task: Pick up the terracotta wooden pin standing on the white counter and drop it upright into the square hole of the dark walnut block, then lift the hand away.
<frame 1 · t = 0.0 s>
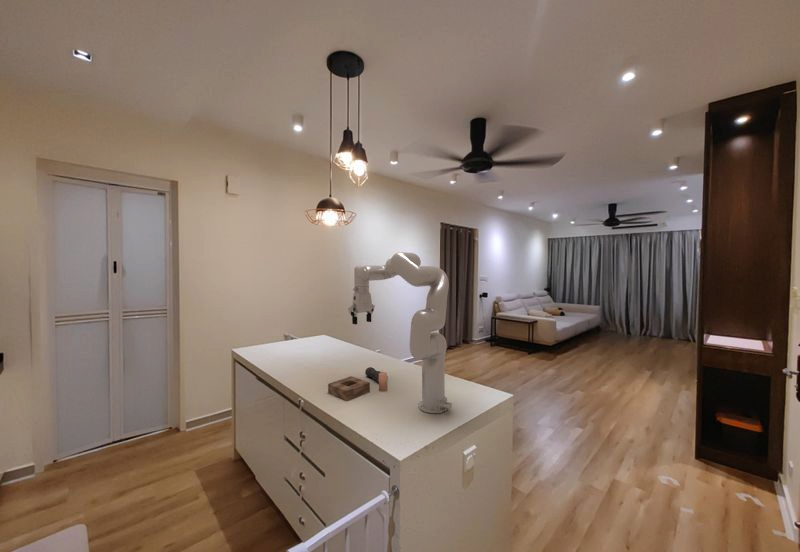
hand: (362, 322, 162), 31 cm above the countertop, fingers open, 9 cm apart
pin: (383, 389, 152), on the countertop
flashlight: (376, 380, 167), on the countertop
walnut block: (349, 392, 149), on the countertop
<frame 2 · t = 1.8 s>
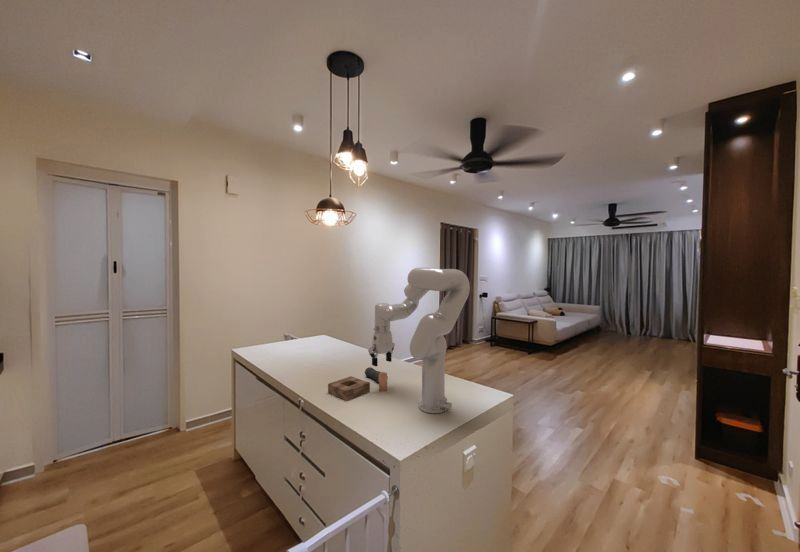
hand: (381, 363, 152), 13 cm above the countertop, fingers open, 9 cm apart
nothing on the countertop moved.
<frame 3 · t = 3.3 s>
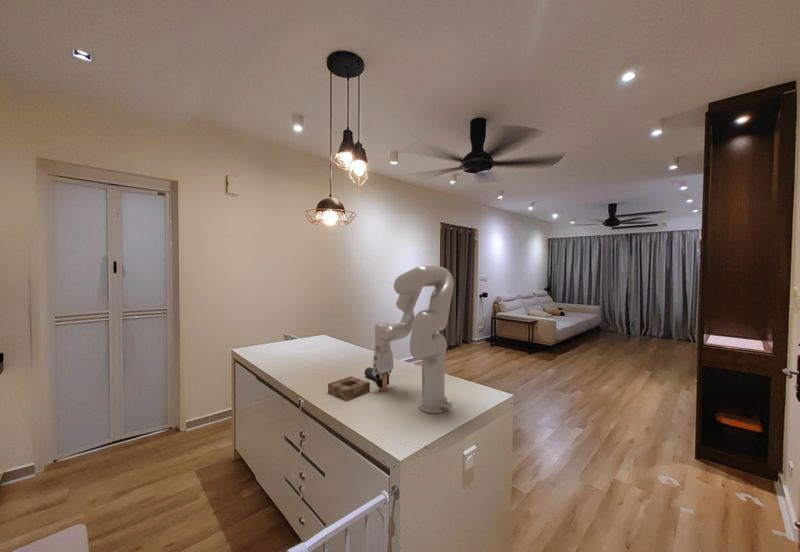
hand: (383, 385, 152), 2 cm above the countertop, fingers closed on pin, 4 cm apart
pin: (383, 389, 152), on the countertop, touching gripper
everything else where it was.
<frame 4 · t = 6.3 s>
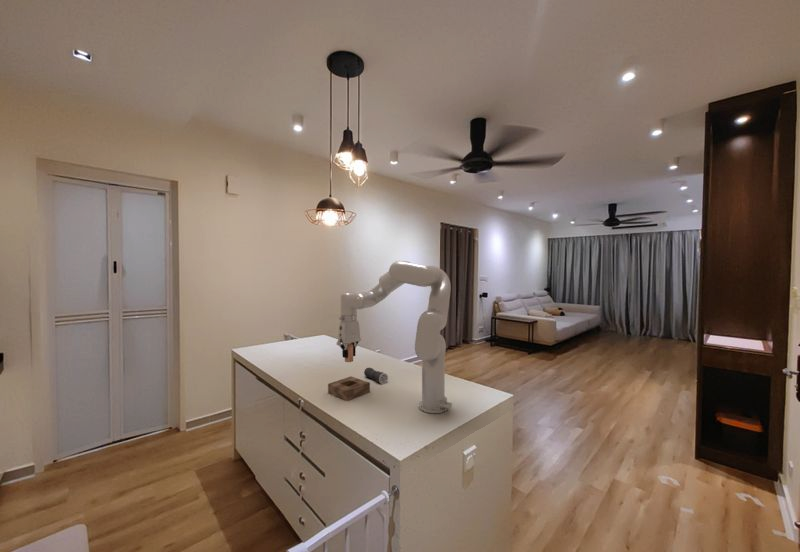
hand: (349, 356, 149), 17 cm above the countertop, fingers closed on pin, 4 cm apart
pin: (349, 361, 149), point 15 cm above the countertop, touching gripper
everything else where it was.
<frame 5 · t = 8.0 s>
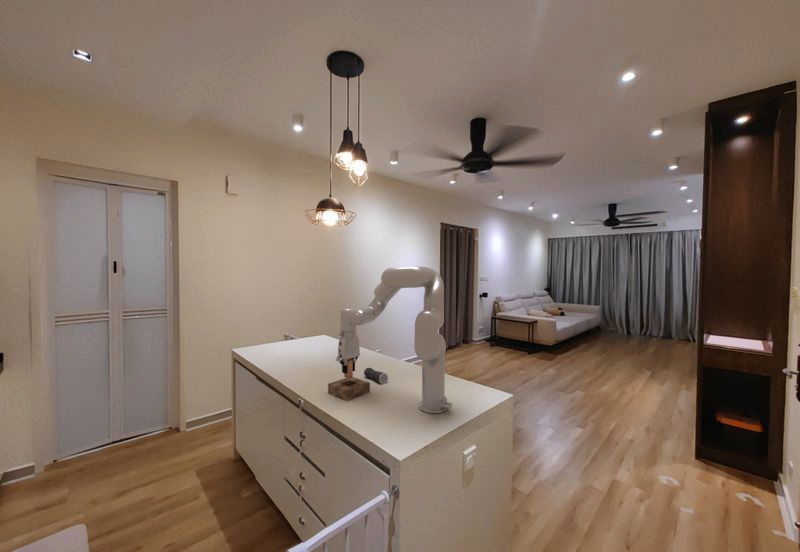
hand: (348, 371, 149), 10 cm above the countertop, fingers closed on pin, 4 cm apart
pin: (348, 376, 149), point 8 cm above the countertop, touching gripper
everything else where it was.
when the fingers open (6 cm above the countertop, at t = 9.4 s): pin drops 3 cm, resting in walnut block.
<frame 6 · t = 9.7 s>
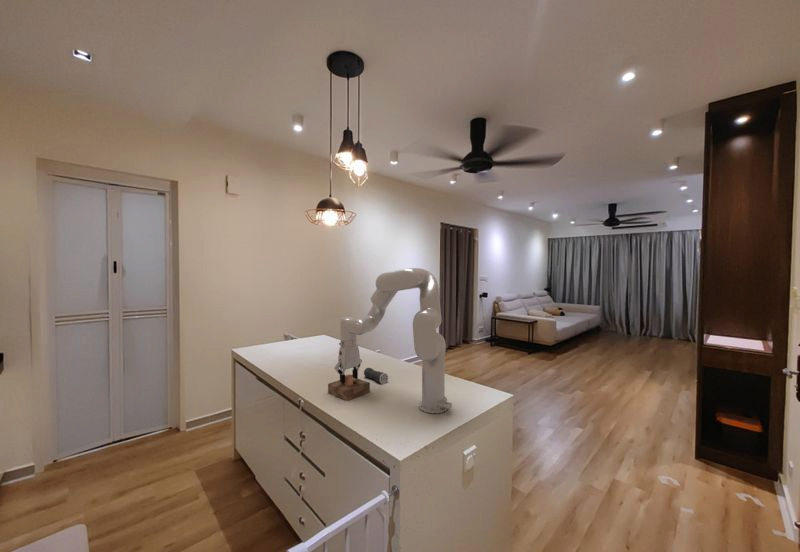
hand: (348, 380, 149), 6 cm above the countertop, fingers open, 7 cm apart
pin: (349, 392, 149), resting in walnut block
everything else where it was.
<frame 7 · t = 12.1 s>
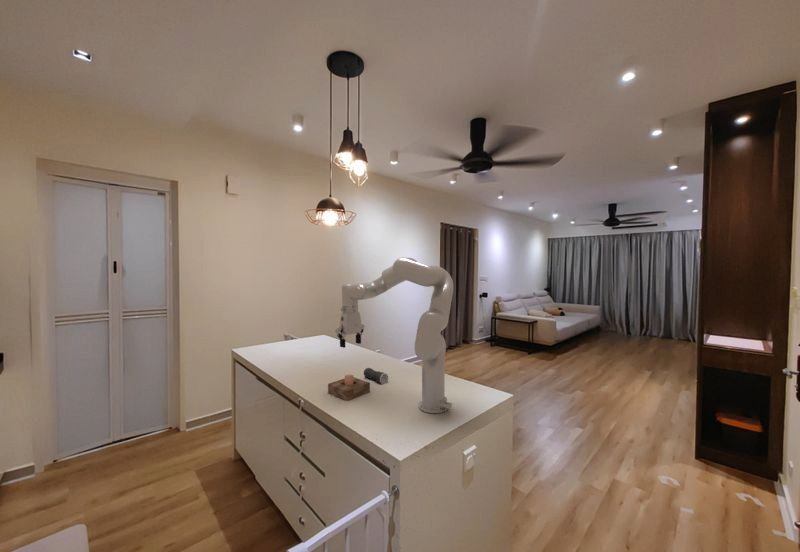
hand: (350, 345, 149), 23 cm above the countertop, fingers open, 9 cm apart
nothing on the countertop moved.
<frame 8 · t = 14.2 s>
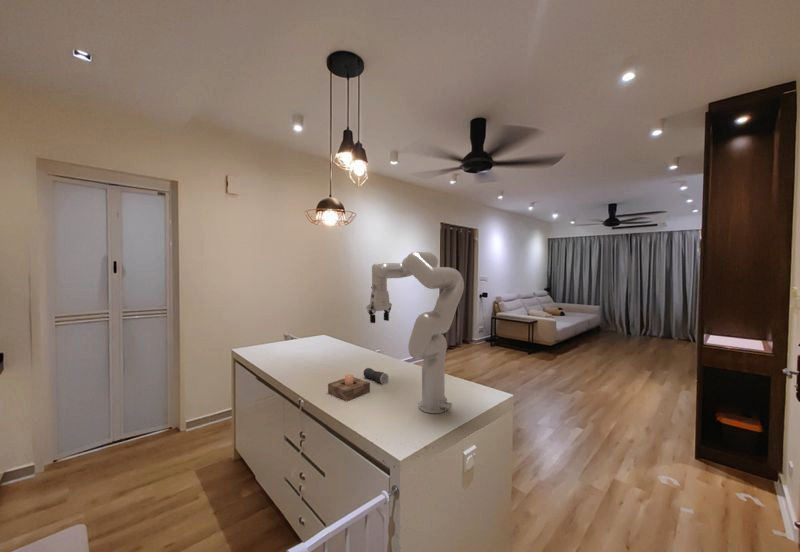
hand: (379, 321, 159), 32 cm above the countertop, fingers open, 9 cm apart
nothing on the countertop moved.
at the end: pin 0.0 cm off-centre on the walnut block, point 0.0 cm above the walnut block's base; pin tilted 0°; the gripper is holding nothing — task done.
